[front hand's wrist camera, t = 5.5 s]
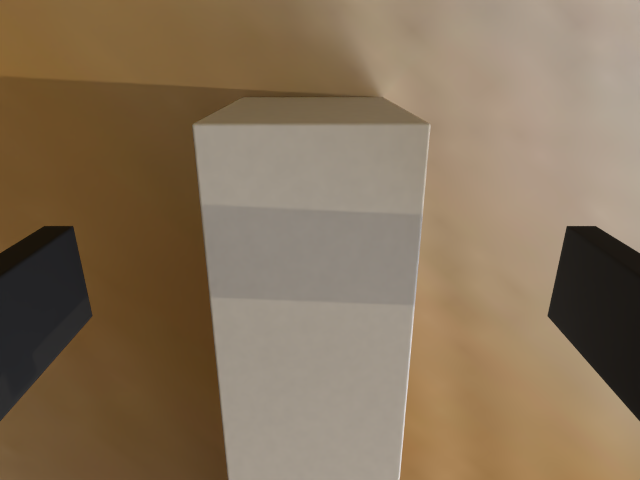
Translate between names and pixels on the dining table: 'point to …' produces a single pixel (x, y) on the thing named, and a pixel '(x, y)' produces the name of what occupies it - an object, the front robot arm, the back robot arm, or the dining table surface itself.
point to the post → (312, 280)
